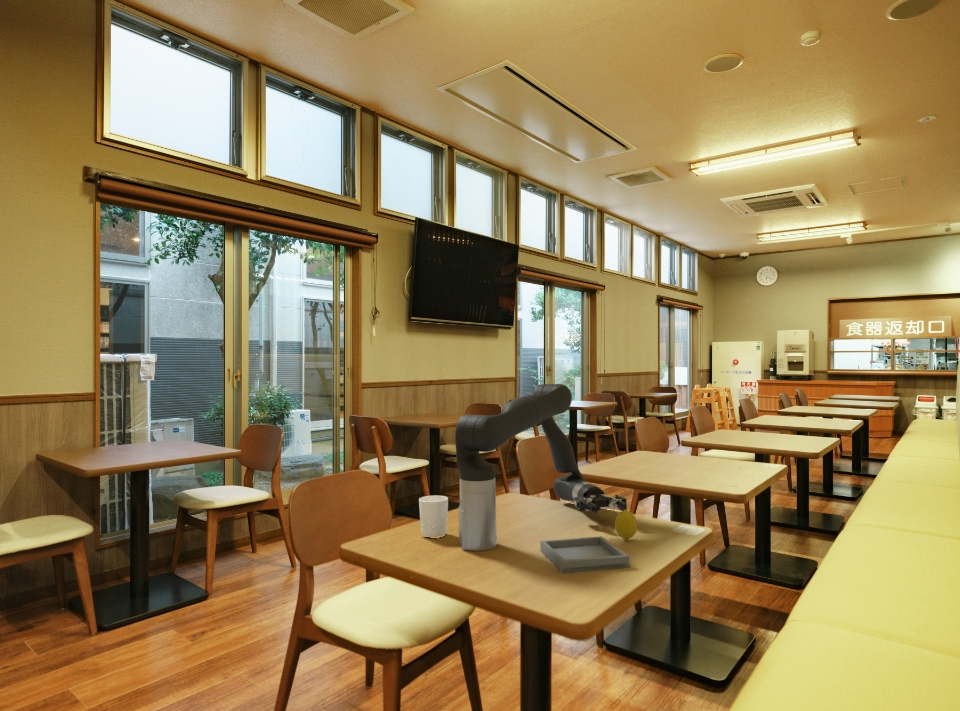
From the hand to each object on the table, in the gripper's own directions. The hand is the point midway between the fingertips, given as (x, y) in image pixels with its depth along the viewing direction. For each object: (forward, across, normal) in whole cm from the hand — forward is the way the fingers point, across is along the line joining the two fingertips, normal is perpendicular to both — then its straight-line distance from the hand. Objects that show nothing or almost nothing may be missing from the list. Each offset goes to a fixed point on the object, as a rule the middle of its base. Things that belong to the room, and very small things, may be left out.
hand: (610, 508), depth 163 cm
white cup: (-8, -48, +6) cm, 49 cm away
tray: (+21, -16, +6) cm, 27 cm away
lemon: (+10, 0, +6) cm, 12 cm away
